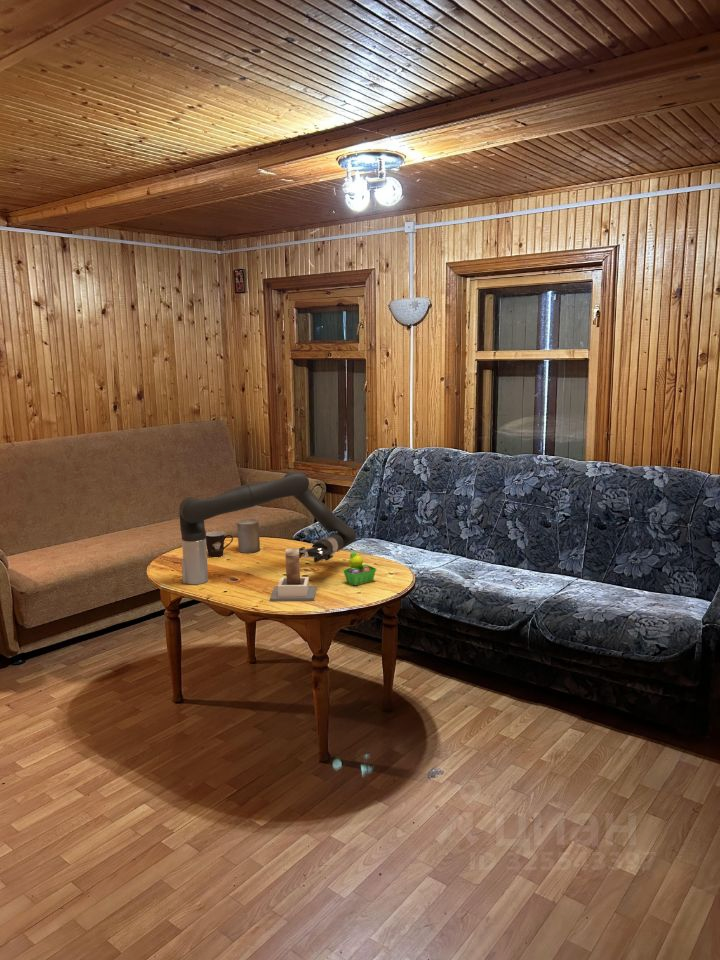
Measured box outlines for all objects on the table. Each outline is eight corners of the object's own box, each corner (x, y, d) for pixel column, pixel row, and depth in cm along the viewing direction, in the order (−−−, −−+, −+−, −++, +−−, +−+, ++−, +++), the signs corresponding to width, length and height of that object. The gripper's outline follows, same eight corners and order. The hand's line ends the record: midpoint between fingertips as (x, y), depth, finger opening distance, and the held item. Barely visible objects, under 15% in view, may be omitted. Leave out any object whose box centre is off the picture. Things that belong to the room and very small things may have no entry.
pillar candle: (262, 547, 335) (260, 515, 332) (257, 553, 325) (255, 520, 322) (241, 547, 336) (239, 515, 333) (235, 553, 326) (234, 520, 323)
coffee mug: (203, 558, 318) (202, 536, 317) (208, 553, 327) (207, 531, 325) (230, 558, 318) (229, 536, 316) (234, 552, 327) (233, 531, 325)
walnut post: (286, 594, 268) (284, 551, 265) (287, 589, 272) (286, 548, 270) (300, 593, 268) (298, 551, 265) (301, 589, 272) (299, 548, 270)
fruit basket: (353, 587, 278) (353, 558, 276) (340, 581, 285) (340, 553, 283) (377, 581, 284) (377, 553, 282) (364, 576, 292) (363, 548, 290)
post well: (269, 601, 263) (269, 587, 262) (274, 588, 277) (274, 576, 276) (314, 600, 263) (313, 587, 262) (316, 588, 277) (316, 575, 276)
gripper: (309, 537, 292) (288, 547, 278) (340, 540, 286) (321, 551, 272) (309, 555, 294) (288, 566, 279) (341, 559, 288) (321, 570, 273)
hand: (304, 558), depth 276 cm, fingers open, 8 cm apart
